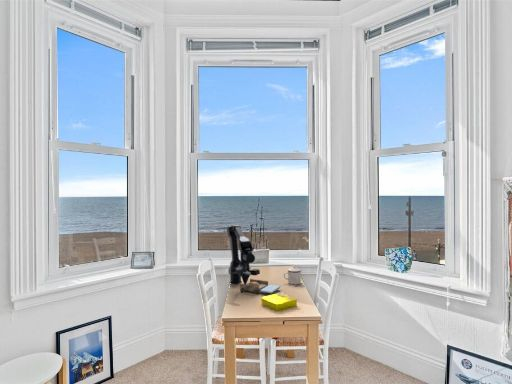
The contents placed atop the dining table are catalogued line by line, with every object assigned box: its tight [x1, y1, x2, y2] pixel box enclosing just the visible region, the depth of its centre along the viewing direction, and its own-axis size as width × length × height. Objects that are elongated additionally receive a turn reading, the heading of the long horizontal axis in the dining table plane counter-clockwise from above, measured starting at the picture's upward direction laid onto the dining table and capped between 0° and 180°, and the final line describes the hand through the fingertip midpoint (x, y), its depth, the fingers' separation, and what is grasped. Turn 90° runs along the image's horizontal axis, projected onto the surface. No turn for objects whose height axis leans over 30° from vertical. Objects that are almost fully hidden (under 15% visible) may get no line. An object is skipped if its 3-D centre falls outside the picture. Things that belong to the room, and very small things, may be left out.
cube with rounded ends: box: [248, 281, 259, 286], centre depth 203 cm, size 7×3×3 cm, turn 63°
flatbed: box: [239, 278, 269, 295], centre depth 207 cm, size 14×17×4 cm
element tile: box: [261, 292, 298, 313], centre depth 178 cm, size 15×15×5 cm
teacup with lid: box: [283, 265, 302, 285], centre depth 222 cm, size 12×9×12 cm
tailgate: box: [260, 284, 281, 294], centre depth 202 cm, size 1×14×8 cm
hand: (245, 284), depth 206 cm, fingers closed
